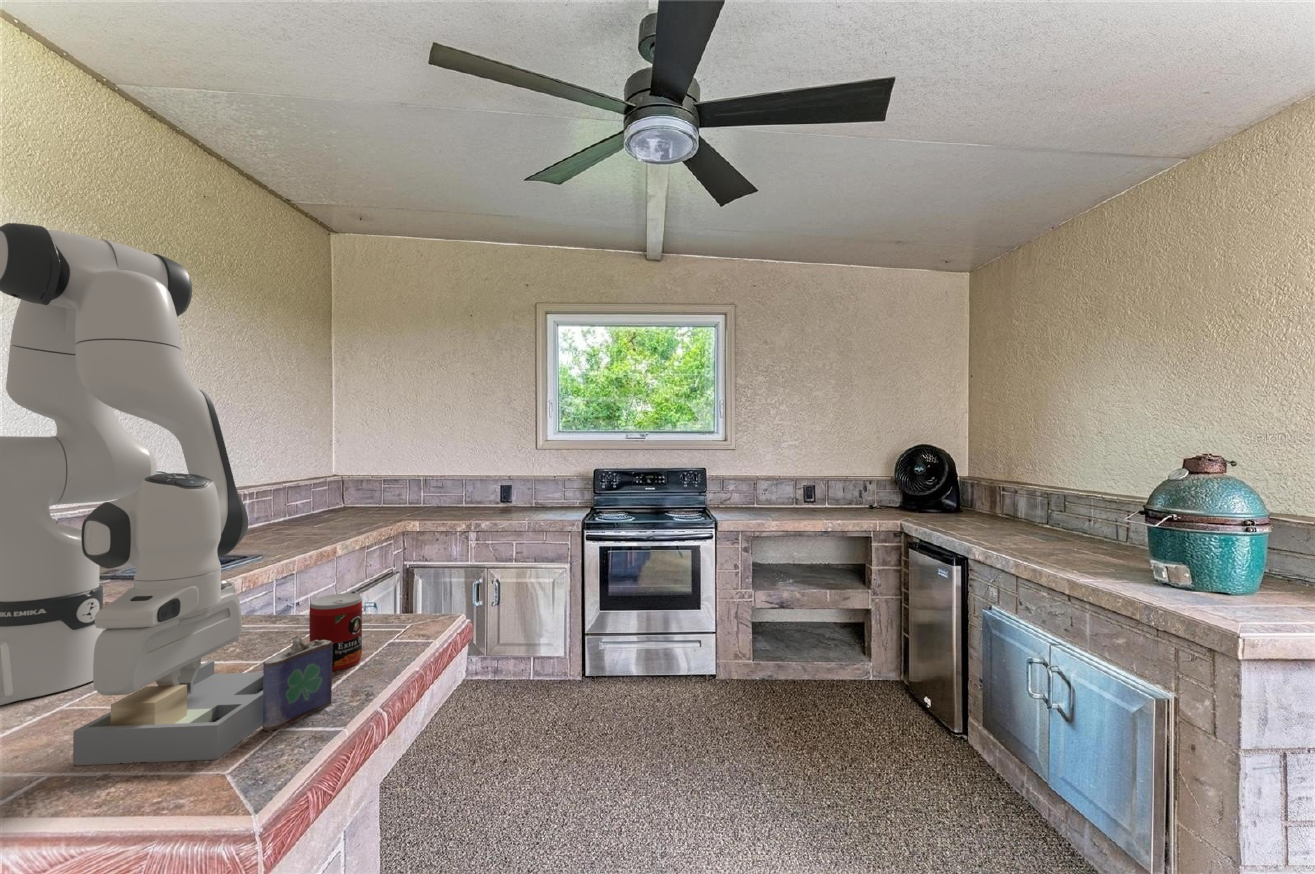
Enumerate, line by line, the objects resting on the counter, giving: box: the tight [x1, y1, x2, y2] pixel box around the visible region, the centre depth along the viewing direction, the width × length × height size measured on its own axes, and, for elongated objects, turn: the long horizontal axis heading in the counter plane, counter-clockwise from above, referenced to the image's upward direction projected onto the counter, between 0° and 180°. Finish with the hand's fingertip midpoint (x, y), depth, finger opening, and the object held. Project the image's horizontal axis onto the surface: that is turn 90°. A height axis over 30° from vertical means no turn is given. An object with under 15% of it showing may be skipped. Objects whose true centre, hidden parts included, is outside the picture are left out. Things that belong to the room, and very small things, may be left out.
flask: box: [261, 635, 333, 733], centre depth 76 cm, size 9×3×11 cm, turn 157°
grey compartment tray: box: [72, 660, 264, 767], centre depth 75 cm, size 16×21×4 cm
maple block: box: [110, 685, 187, 726], centre depth 69 cm, size 5×5×4 cm
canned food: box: [308, 592, 363, 672], centre depth 94 cm, size 8×8×11 cm
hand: (178, 699), depth 73 cm, fingers closed
